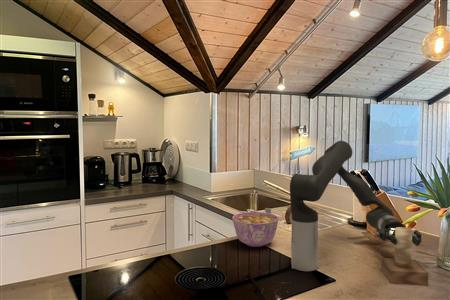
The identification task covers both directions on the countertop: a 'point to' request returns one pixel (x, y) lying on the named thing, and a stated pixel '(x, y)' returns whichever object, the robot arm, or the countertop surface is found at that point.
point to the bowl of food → (255, 227)
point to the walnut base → (404, 272)
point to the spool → (403, 247)
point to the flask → (268, 210)
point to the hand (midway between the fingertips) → (406, 242)
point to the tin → (288, 215)
